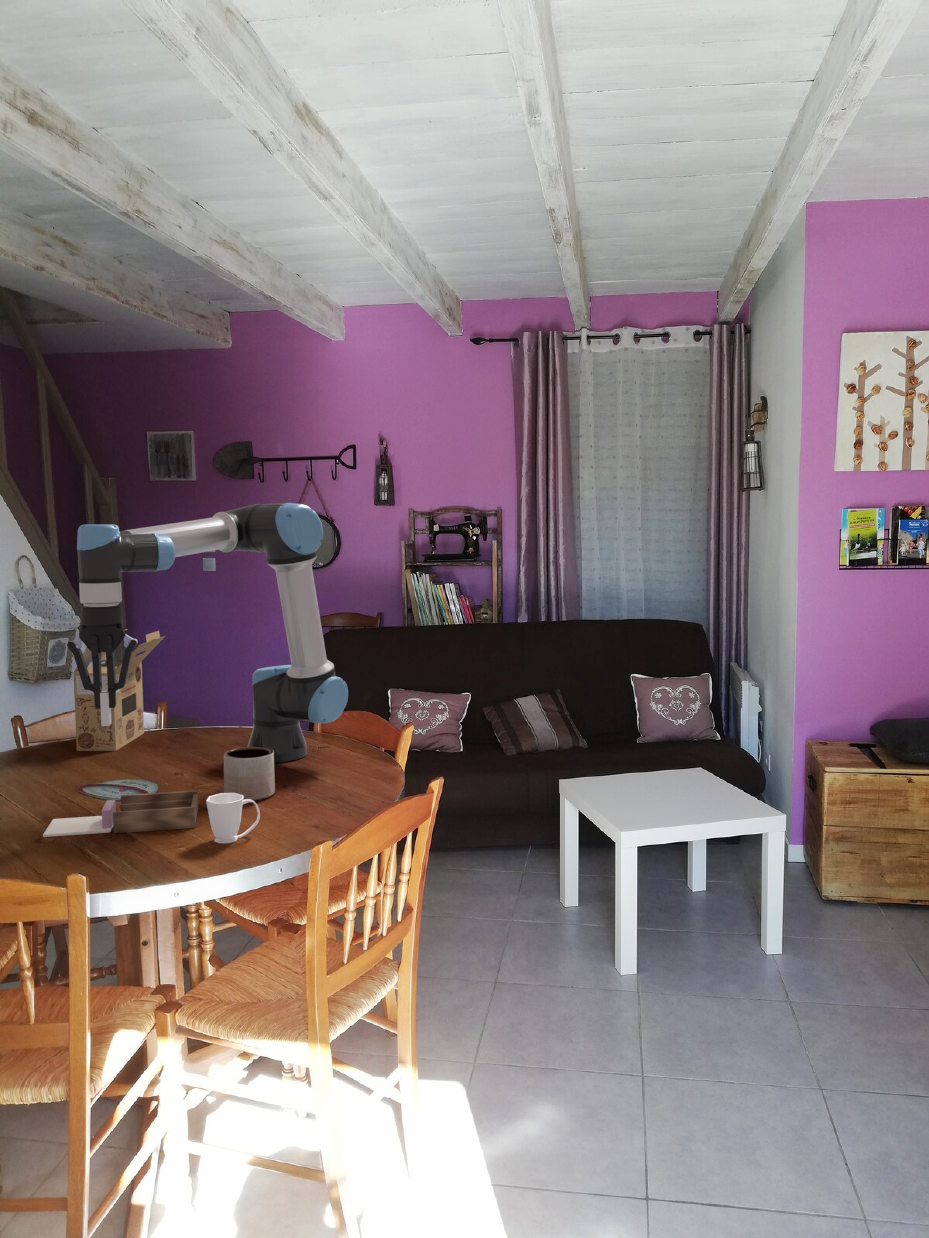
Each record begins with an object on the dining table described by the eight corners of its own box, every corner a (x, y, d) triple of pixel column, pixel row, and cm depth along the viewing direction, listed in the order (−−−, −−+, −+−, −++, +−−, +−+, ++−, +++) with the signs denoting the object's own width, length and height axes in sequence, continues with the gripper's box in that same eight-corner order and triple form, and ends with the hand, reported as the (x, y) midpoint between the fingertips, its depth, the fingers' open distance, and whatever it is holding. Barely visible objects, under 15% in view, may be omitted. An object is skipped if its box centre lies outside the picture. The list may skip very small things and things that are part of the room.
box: (143, 751, 240) (139, 637, 237) (68, 750, 240) (63, 637, 237) (169, 733, 261) (166, 628, 258) (100, 733, 261) (95, 628, 258)
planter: (284, 790, 205) (283, 748, 204) (258, 804, 194) (257, 760, 193) (242, 786, 208) (241, 744, 207) (214, 799, 198) (212, 756, 197)
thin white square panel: (117, 818, 186) (116, 797, 186) (110, 834, 177) (109, 812, 176) (53, 823, 183) (52, 801, 183) (43, 839, 174) (42, 816, 174)
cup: (203, 836, 174) (201, 795, 173) (255, 828, 179) (254, 788, 178) (211, 848, 168) (210, 805, 167) (265, 839, 173) (264, 797, 172)
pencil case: (198, 809, 191) (197, 790, 191) (195, 827, 179) (194, 807, 179) (121, 814, 188) (121, 795, 187) (113, 833, 176) (112, 813, 176)
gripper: (139, 602, 182) (143, 718, 185) (68, 603, 179) (74, 722, 182) (134, 605, 175) (139, 726, 177) (61, 607, 172) (67, 730, 174)
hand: (106, 724), depth 180 cm, fingers closed
